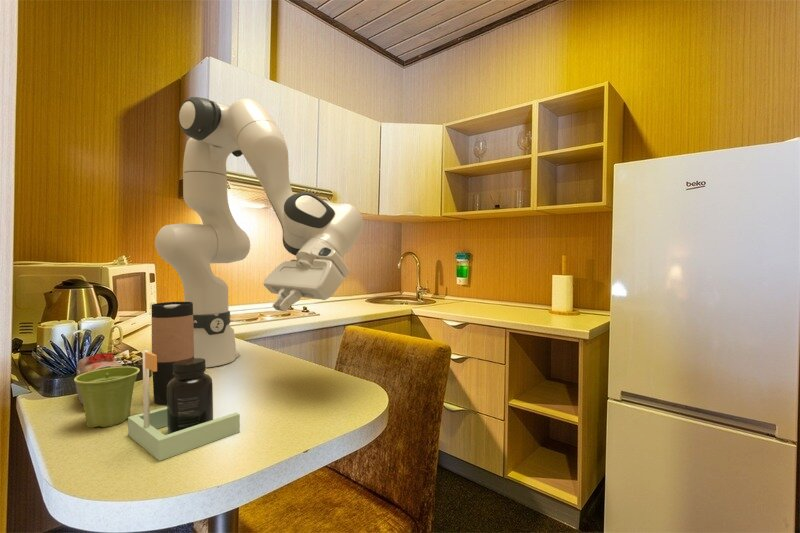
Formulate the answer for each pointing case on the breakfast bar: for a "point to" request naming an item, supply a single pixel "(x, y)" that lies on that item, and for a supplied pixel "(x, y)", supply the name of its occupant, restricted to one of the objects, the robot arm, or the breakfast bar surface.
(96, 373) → the plant pot
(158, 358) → the travel mug
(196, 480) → the breakfast bar surface
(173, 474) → the breakfast bar surface
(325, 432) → the breakfast bar surface
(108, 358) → the food item
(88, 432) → the breakfast bar surface
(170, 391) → the supplement bottle
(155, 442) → the u-shaped flag stand
